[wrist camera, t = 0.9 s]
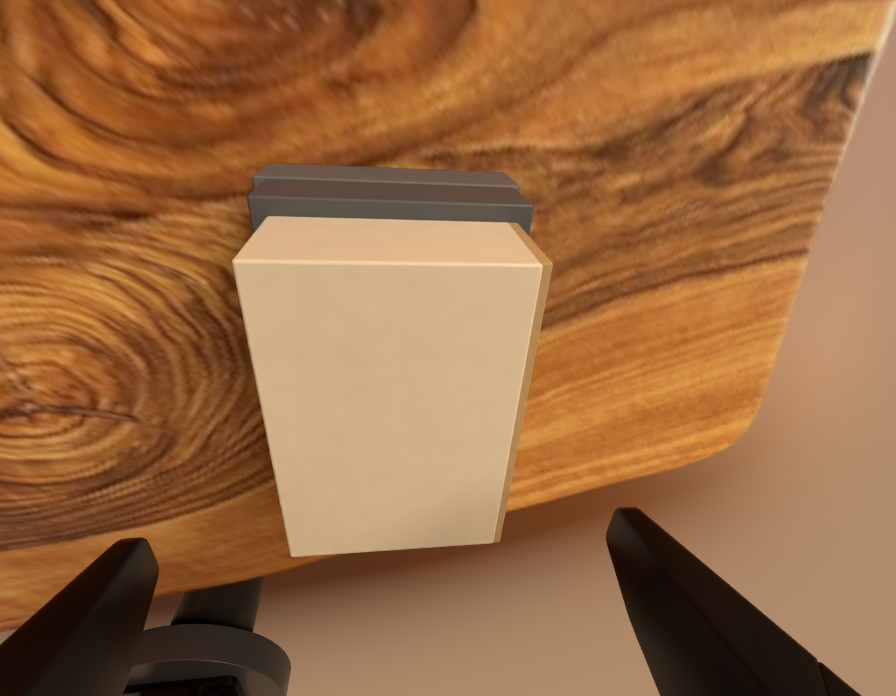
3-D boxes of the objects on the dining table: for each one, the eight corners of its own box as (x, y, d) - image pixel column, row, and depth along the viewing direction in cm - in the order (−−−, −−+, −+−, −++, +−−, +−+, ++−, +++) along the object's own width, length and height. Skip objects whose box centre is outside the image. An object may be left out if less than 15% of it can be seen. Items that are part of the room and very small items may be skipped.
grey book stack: (477, 409, 20) (495, 478, 17) (302, 414, 19) (284, 489, 16) (505, 172, 15) (540, 203, 11) (267, 162, 14) (229, 192, 10)
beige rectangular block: (482, 469, 16) (500, 543, 14) (305, 478, 15) (290, 558, 13) (517, 221, 12) (554, 264, 9) (266, 215, 11) (229, 260, 8)
